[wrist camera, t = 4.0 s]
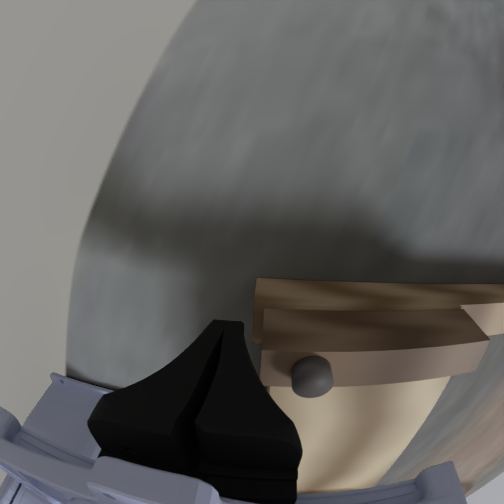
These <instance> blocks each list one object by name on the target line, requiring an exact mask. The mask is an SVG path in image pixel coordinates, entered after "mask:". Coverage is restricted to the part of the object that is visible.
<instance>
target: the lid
mask: <svg viewBox="0 0 504 504" xmlns="http://www.w3.org/2000/svg"><path fill="white" fill-rule="evenodd" d="M450 377H451V376H447V377H441V378H435V379H428V380H420V381H412V382H403V383H393V384H382V385H368V386H349V387H332V388H331V390H330V391H329V392H327V393H326V394H324V395H322V396H320V397H316V398H304V397H300V396H298V395H297V394H295V393H294V392H293V390H292V387H275V386H269V390H268V393H269V394H270V396H271V397H272V398H273V400H274V401H275V402H276V404H277V405H278V406H279V407H280V408H281V410H282V411H283V412H284V413H285V414H286V415H287V416H288V417H289V418H290V419H291V420H292V421H293V422H294V424H295V427H296V429H297V432H298V434H299V437H300V440H301V444H302V449H303V455H302V459H301V462H300V464H299V467H298V480H297V494H315V493H330V492H341V491H350V490H358V489H365V488H372V487H374V486H375V485H376V483H377V482H378V481H379V480H380V479H381V478H382V477H383V475H384V474H385V473H386V472H387V471H388V469H389V468H390V467H391V466H392V465H393V463H394V462H395V461H396V460H397V458H398V457H399V456H400V454H401V453H402V452H403V451H404V449H405V448H406V447H407V445H408V444H409V442H410V441H411V440H412V438H413V437H414V435H415V434H416V433H417V431H418V430H419V428H420V427H421V425H422V424H423V422H424V421H425V419H426V418H427V416H428V415H429V413H430V411H431V410H432V408H433V407H434V405H435V403H436V402H437V400H438V398H439V397H440V395H441V393H442V392H443V390H444V388H445V386H446V384H447V383H448V381H449V379H450Z"/></svg>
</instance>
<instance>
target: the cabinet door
mask: <svg viewBox="0 0 504 504" xmlns="http://www.w3.org/2000/svg"><path fill="white" fill-rule="evenodd" d="M489 342H490V339H489V338H488V336H487V335H486V334H485V333H484V332H483V331H482V329H481V328H480V327H479V326H478V325H477V324H476V322H475V321H474V320H473V319H472V318H471V317H470V316H469V314H468V313H467V312H466V311H465V310H464V309H452V310H424V311H325V310H294V309H272V308H264V322H263V337H262V353H261V368H260V380H261V382H262V384H263V385H264V386H275V387H292V390H293V392H294V393H295V394H297V395H298V396H300V397H304V398H316V397H320V396H322V395H324V394H326V393H327V392H329V391H330V390H331V388H332V387H349V386H368V385H382V384H393V383H403V382H412V381H420V380H428V379H435V378H441V377H447V376H453V375H459V374H464V373H469V372H474V371H475V370H476V368H477V366H478V364H479V362H480V360H481V358H482V356H483V354H484V352H485V350H486V348H487V346H488V344H489Z"/></svg>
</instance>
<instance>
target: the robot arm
mask: <svg viewBox="0 0 504 504" xmlns="http://www.w3.org/2000/svg"><path fill="white" fill-rule="evenodd" d="M50 377H51V379H52V381H53V382H52V384H51V385H50V387H49V388H48V389H47V391H46V392H45V393H44V395H43V396H42V397H41V399H40V400H39V402H38V403H37V405H36V406H35V407H34V409H33V410H32V412H31V413H30V414H29V416H28V417H27V419H26V420H25V422H24V425H23V427H22V426H21V425H20V423H19V421H18V420H17V419H16V418H15V416H14V415H12V414H11V413H10V412H8V411H7V410H5V409H3V408H2V407H0V468H1V469H2V470H3V471H4V472H6V473H7V476H6V478H5V479H4V481H3V483H2V485H1V487H0V504H467V502H466V499H465V495H464V492H463V489H462V486H461V483H460V480H459V477H458V474H457V472H456V469H455V466H454V463H453V461H449V462H445V463H442V464H439V465H435V466H432V467H429V468H426V469H425V470H423V471H422V472H420V473H419V474H418V476H417V477H416V478H415V479H411V480H407V481H403V482H398V483H393V484H388V485H383V486H378V487H372V488H365V489H358V490H350V491H341V492H330V493H315V494H297V480H298V467H299V464H300V462H301V459H302V455H303V449H302V444H301V440H300V437H299V434H298V432H297V429H296V427H295V424H294V422H293V421H292V420H291V419H290V418H289V417H288V416H287V415H286V414H285V413H284V412H283V411H282V410H281V408H280V407H279V406H278V405H277V404H276V402H275V401H274V400H273V398H272V397H271V396H270V394H269V393H268V391H267V390H266V389H265V387H264V385H263V384H262V382H261V380H260V378H259V377H258V375H257V373H256V371H255V369H254V366H253V364H252V361H251V359H250V356H249V353H248V350H247V347H246V343H245V338H244V324H243V323H242V322H240V321H225V320H213V321H211V323H210V324H209V325H208V326H207V327H206V329H205V330H204V331H203V332H202V333H201V334H200V335H199V337H198V338H197V339H196V340H195V341H194V342H193V343H192V344H191V345H190V346H189V347H188V348H187V349H186V350H184V351H183V352H182V353H181V354H180V355H179V356H178V357H177V358H175V359H174V360H173V361H172V362H170V363H169V364H168V365H166V366H165V367H163V368H162V369H160V370H159V371H157V372H155V373H154V374H152V375H150V376H149V377H147V378H145V379H143V380H141V381H139V382H137V383H135V384H132V385H130V386H128V387H125V388H122V389H119V390H116V391H113V390H109V389H105V388H102V387H98V386H94V385H91V384H88V383H84V382H81V381H78V380H74V379H71V378H68V377H65V376H62V375H59V374H56V373H51V375H50Z"/></svg>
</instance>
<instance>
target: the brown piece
mask: <svg viewBox="0 0 504 504" xmlns="http://www.w3.org/2000/svg"><path fill="white" fill-rule="evenodd" d="M264 308H272V309H294V310H325V311H424V310H452V309H464V310H465V311H466V312H467V313H468V314H469V316H470V317H471V318H472V319H473V320H474V321H475V322H476V324H477V325H478V326H479V327H480V328H481V329H482V331H483V332H484V333H485V334H486V335H487V336H490V335H496V334H503V333H504V284H415V283H372V282H340V281H314V280H292V279H271V278H257V280H256V288H255V296H254V307H253V335H252V343H253V344H262V337H263V322H264ZM268 390H269V386H267V391H268Z"/></svg>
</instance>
